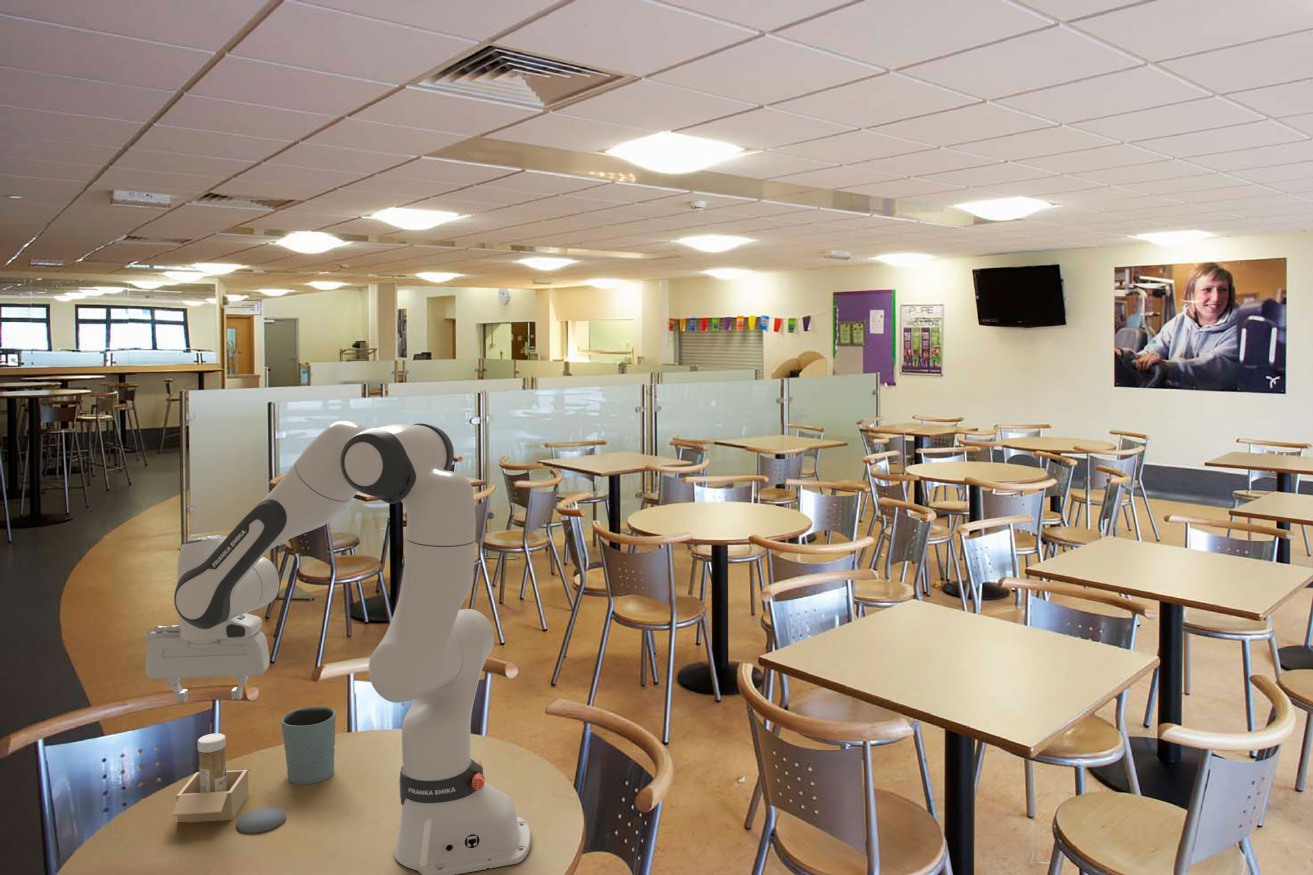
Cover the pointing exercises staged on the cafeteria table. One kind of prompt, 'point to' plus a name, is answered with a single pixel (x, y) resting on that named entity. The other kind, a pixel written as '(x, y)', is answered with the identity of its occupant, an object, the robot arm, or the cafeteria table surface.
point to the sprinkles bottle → (212, 763)
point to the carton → (212, 799)
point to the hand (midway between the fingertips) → (209, 699)
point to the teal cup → (309, 744)
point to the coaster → (261, 820)
